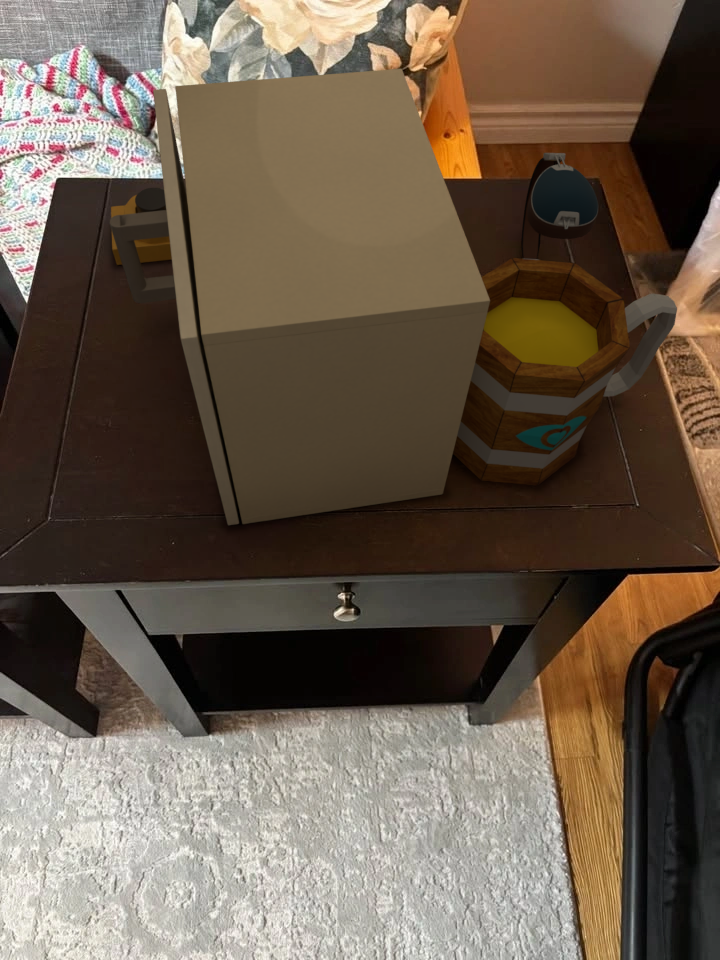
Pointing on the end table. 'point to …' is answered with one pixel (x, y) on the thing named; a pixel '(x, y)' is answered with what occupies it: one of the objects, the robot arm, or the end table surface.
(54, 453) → the end table surface
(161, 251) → the switch box
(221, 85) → the cupboard
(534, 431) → the mug
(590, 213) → the headphones
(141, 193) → the button
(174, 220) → the door
